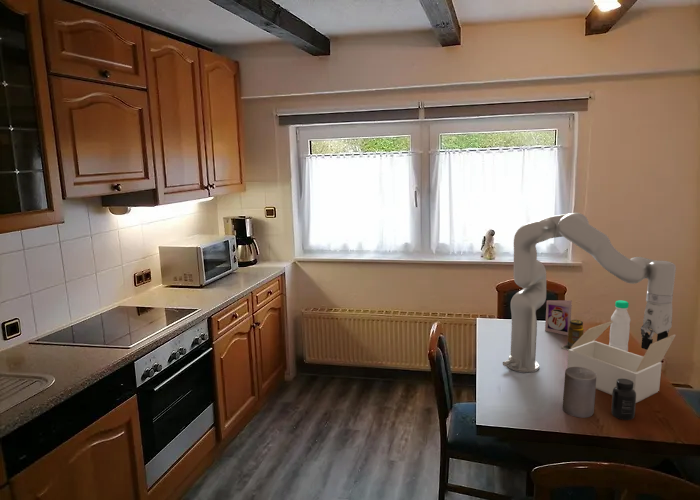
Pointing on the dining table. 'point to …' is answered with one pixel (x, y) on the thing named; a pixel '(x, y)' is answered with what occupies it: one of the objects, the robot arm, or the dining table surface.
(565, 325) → the greeting card
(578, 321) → the condiment
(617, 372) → the carton
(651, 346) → the near flap
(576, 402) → the pillar candle
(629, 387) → the supplement bottle
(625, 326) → the water bottle
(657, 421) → the dining table surface
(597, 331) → the far flap
